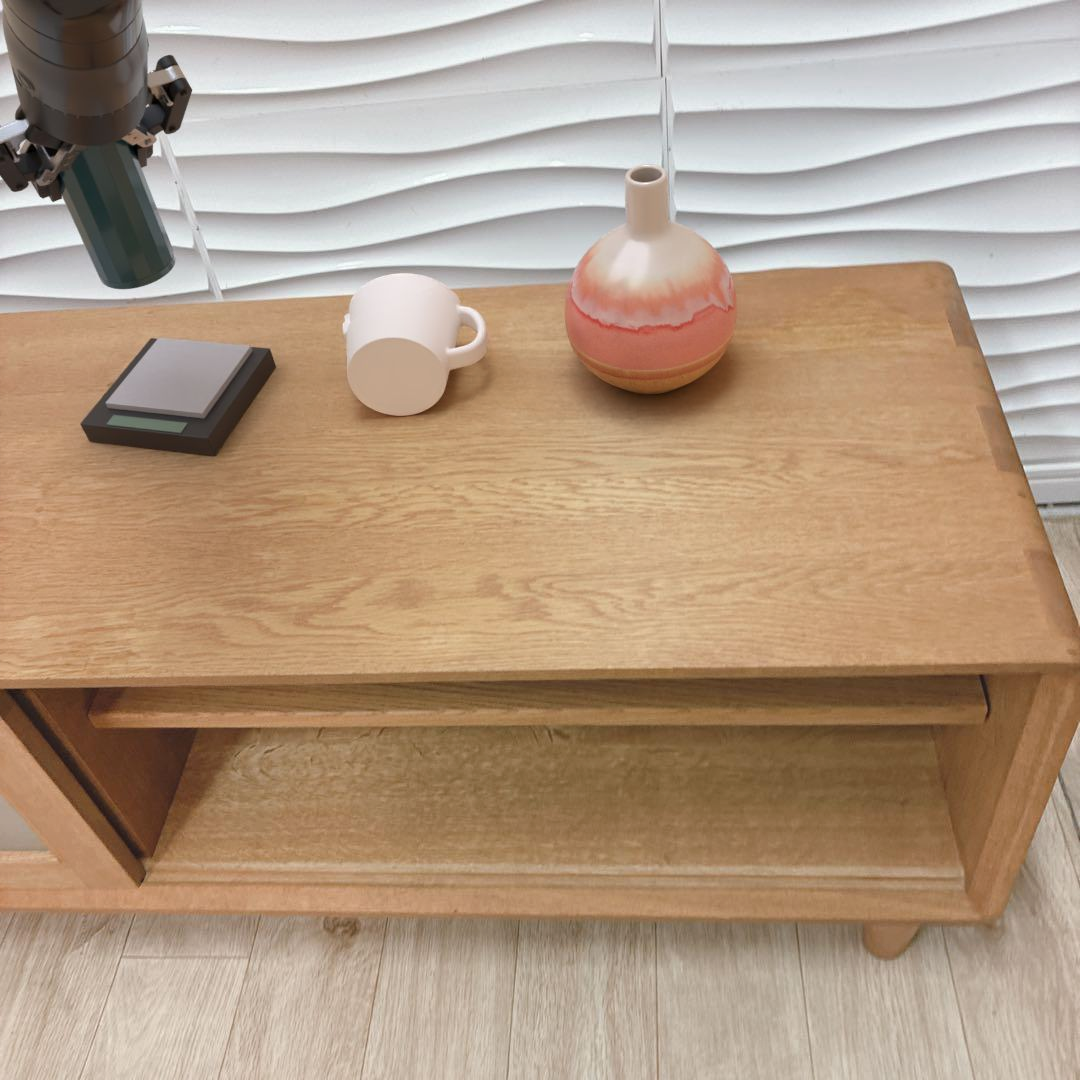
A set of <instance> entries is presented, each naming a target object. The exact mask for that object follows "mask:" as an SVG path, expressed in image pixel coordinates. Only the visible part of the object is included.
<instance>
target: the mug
mask: <svg viewBox="0 0 1080 1080" xmlns="http://www.w3.org/2000/svg"><path fill="white" fill-rule="evenodd" d="M461 327H469V328H470V329H473V330H474V332H476V337H475V338H474V340H472V341H471V342H470V343H467V344H465V345H461V346H458V347H456V346H457V342H458V338H459V334H460V331H461ZM342 334H343V338H344V341H345V349H346V350H345V351H346V352H345V353H346V355H345V356H346V377H347V382H348V386H349V389H350V390H351V393H353V395H354V396H355V397H356V399H358V401H360V403H362V404H364V405H365V406H366V407H368V408H369V409H372V410H373V411H376V412H378V413H381V414H385V415H389V416H398V417H403V416H412V415H416V414H420V413H422V412H425V411H427V410H428V409H430V408H431V407H434V405H435V404H437V403H438V402H439V400H440V399H441V398H442V397H443V395H444V393H445V391H446V388H447V387H446V386H447V383H448V379H449V375H450V371H452V370H456V369H461V368H465V367H470V366H472V365H474V364H476V363H479V362H480V361H481V360H482V359H483V357H485V355H486V353H487V351H488V348H489V337H488V330H487V326H486V321H485V319H484V318H483V315H481V314H480V312H478V311H477V310H476V309H474V308H472V307H470V306H465V305H463V304H462V302H461V299H460V298H459V296H458V295H457V293H455V292H454V291H453V290H452V289H450V288H449V287H448V286H447V285H445V284H444V283H442V282H441V281H439V280H437V279H435V278H432V277H430V276H426V275H422V274H419V273H417V274H416V273H409V272H399V273H391V274H385V275H381V276H379V277H376V278H373V279H371V280H368V281H367V282H366V283H364V284H363V285H362V286H360V287H359V288H358V289H357V290H356V291H355V293H354V294H353V296H352V297H351V298H350V301H349V305H348V312H347V313H346V314H344V322H342Z"/></svg>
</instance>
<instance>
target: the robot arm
mask: <svg viewBox="0 0 1080 1080" xmlns="http://www.w3.org/2000/svg"><path fill="white" fill-rule="evenodd" d="M0 1H1V6H2V16H1V18H2V19H1V20H2V30H3V36H4V40H5V45H6V50H7V54H8V58H9V62H10V66H11V70H12V71H11V72H12V75H13V79H14V83H15V84H14V85H15V88H16V93H17V97H18V100H19V106H18V107H17V109H16V110H15V113H14V119H15V120H13V121H10V122H8V123H5V124H4V125H1V124H0V178H1V179H2V181H3V182H4V183H5V185H7V187H8V189H10V191H11V192H13V193H18V192H21V191H24V190H26V189H27V188H28V187H29V185H30V183H31V185H32V187H33V188H34V190H35V191H36V193H37V195H38V197H39V198H41V199H45V198H49V200H50V201H51V202H52V203H54V202H57V201H59V200H62V199H63V197H62V195H61V192H60V184H59V179H58V178H57V175H58V174H59V172H60V171H64V170H69V169H70V168H71V166H72V165H73V163H74V162H75V160H76V159H77V157H78V156H79V154H80V153H81V151H86V150H87V148H88V147H89V146H101V145H106V144H110V143H113V142H116V141H118V140H120V139H122V140H124V141H126V142H127V143H129V144H131V145H133V148H134V151H135V153H136V156H137V158H138V161H139V163H140V166H141V169H142V168H145V167H147V166H148V159H150V158H151V157H152V156H153V154H154V144H155V143H156V142H157V141H158V139H157V137H156V136H157V135H158V134H160V133H161V132H164V134H165V135H172V134H174V133H176V132H177V131H179V130H180V129H181V126H182V123H183V120H184V117H185V114H186V111H187V108H188V105H189V102H190V99H191V96H192V92H193V88H192V87H191V84H190V83H189V81H188V80H187V77H186V75H185V74H184V73H183V70H182V69H181V66H179V63H178V61H177V60H176V58H175V56H174V55H173V54H167V55H164V56H162V57H160V58H159V59H158V60H157V62H156V65H155V69H152V70H150V71H149V69H148V68H149V66H148V65H149V64H148V62H149V61H148V59H149V58H148V52H149V47H150V45H149V39H148V33H147V27H146V22H145V19H144V16H143V15H144V13H143V12H144V11H143V10H144V7H143V6H144V5H143V4H144V3H143V2H144V1H143V0H0ZM148 71H149V72H148ZM22 143H23V144H22ZM21 144H22V146H21ZM20 146H21V147H20ZM18 152H19V153H18Z"/></svg>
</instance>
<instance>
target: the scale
mask: <svg viewBox="0 0 1080 1080" xmlns="http://www.w3.org/2000/svg"><path fill="white" fill-rule="evenodd" d="M276 367H277V365H276V362H275V360H274V356H273V353H272V351H271V348H268V347H259V346H258V347H257V346H252V345H248V344H239V343H238V344H237V343H236V344H235V343H225V342H214V341H204V340H194V339H193V340H191V339H182V338H181V339H180V338H171V337H170V338H168V337H158V338H154V337H150V339H148V341H147V342H146V343H145V345H144V346H143V347H142V348H141V350H139V352H138V353H137V354H136V355H135V356H134V358H133V359H132V360H131V361H130V362H129V364H128V365H127V366H126V368H125V369H124V370H123V371H122V372H121V373H120V375H119V376H118V377H117V379H116V380H115V381H113V383H112V384H111V386H110V387H109V388H108V389H107V390H106V391H105V393H104V394H103V396H101V398H100V399H99V400H98V401H97V402H96V404H95V405H94V406H93V407H92V409H91V410H90V411H89V412H88V414H87V415H86V416H85V417H84V418H83V420H82V421H81V422H80V427H81V428H82V430H83V432H84V434H85V435H86V438H87V440H88V442H91V443H97V444H98V443H100V444H107V445H108V444H109V445H116V446H125V447H131V448H132V447H133V448H142V449H151V450H159V451H167V452H176V453H177V452H178V453H184V454H185V453H186V454H194V455H201V456H202V455H203V456H209V457H216V456H217V454H218V453H219V451H220V449H222V447H223V446H224V444H225V442H226V441H227V439H228V438H229V436H230V435H231V433H232V432H233V430H234V429H235V427H236V426H237V425H238V423H239V422H240V420H241V419H242V417H243V416H244V414H245V413H246V411H247V410H248V409H249V407H250V406H251V404H252V403H253V401H254V400H255V398H256V397H257V395H258V394H259V392H260V391H261V390H262V388H263V387H264V385H265V384H266V382H267V380H268V379H269V378H270V376H271V374H272V373H273V372H274V371H275V369H276Z"/></svg>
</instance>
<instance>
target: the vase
mask: <svg viewBox="0 0 1080 1080" xmlns="http://www.w3.org/2000/svg"><path fill="white" fill-rule="evenodd" d="M624 204H625V205H624V206H625V207H624V208H625V209H624V210H625V223H622V224H620V225H619V226H616V227H615V228H613V229H611V230H610V231H609V232H607V233H605V234H604V235H602V237H599V239H598V240H597V241H596V242H594V244H592V246H590V247H589V248H588V249H587V251H586V252H585V253H584V254H583V256H582V257H581V259H580V260H579V261H578V263H577V264H576V267H575V268H574V270H573V272H572V275H571V278H570V280H569V282H568V286H567V289H566V295H565V301H564V323H565V324H564V325H565V331H566V335H567V338H568V342H569V343H570V346H571V348H572V350H573V353H574V354H575V355H576V357H577V358H578V359H579V361H580V362H581V363H582V365H584V367H586V368H587V369H588V370H589V372H591V373H592V374H593V375H594V376H596V377H597V378H598V379H601V380H602V381H603V382H605V383H607V384H609V385H612V386H614V387H616V388H619V389H623V390H625V391H628V392H631V393H635V394H639V395H640V394H641V395H657V394H658V395H659V394H665V393H668V392H672V391H675V390H677V389H679V388H681V387H684V386H686V385H688V384H691V383H693V382H694V381H696V380H698V379H699V378H701V377H703V376H704V375H705V374H706V373H707V372H709V371H710V370H711V369H712V368H713V367H715V365H716V364H717V363H718V362H719V361H720V360H721V358H723V356H724V355H725V353H726V351H727V350H728V348H729V346H730V344H731V342H732V339H733V338H734V333H735V329H736V326H737V322H738V321H737V320H738V298H737V291H736V287H735V284H734V281H733V276H732V274H731V271H730V269H729V267H728V266H727V263H726V262H725V260H724V258H723V257H722V256H721V254H720V252H718V250H716V248H715V247H714V246H713V245H712V244H711V243H710V242H709V241H708V240H707V239H705V238H704V237H703V236H701V235H700V234H699V233H697V232H696V231H695V230H692V229H691V228H689V227H687V226H684V225H683V224H681V223H678V222H676V221H673V220H670V199H669V179H668V171H667V170H666V169H665V168H664V167H663V166H661V165H657V164H652V163H651V164H650V163H643V164H638V165H635V166H633V167H631V168H630V169H628V170H627V171H626V173H625V175H624Z"/></svg>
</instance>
